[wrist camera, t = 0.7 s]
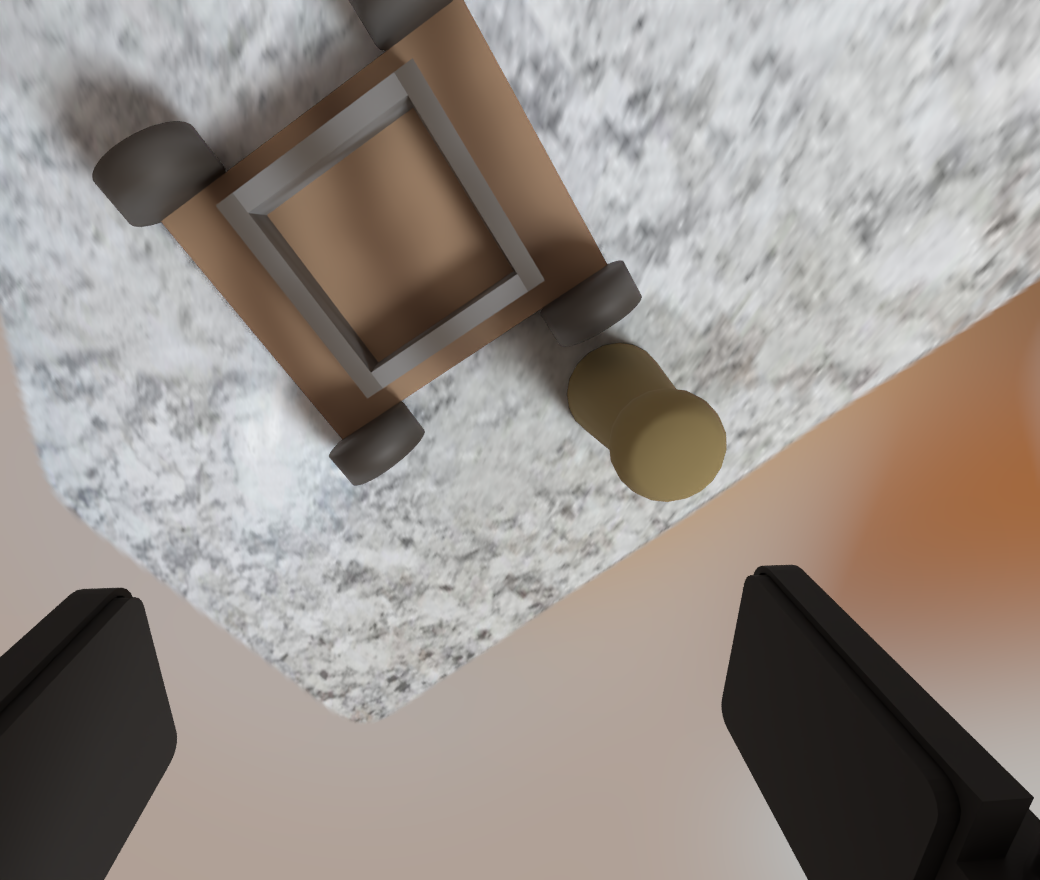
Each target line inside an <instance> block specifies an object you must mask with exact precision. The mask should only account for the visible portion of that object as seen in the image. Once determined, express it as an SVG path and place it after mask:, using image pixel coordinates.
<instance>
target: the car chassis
mask: <svg viewBox="0 0 1040 880" xmlns="http://www.w3.org/2000/svg"><path fill="white" fill-rule="evenodd" d="M349 2H350V3H351V5H352V6H353V8H354V10H355V11H356V13H357V15H358V16H359V18H360V20H361V21H362V23H363V24H364V26H365V28H366V29H367V31H368V33H369V34H370V36H371V37H372V39H373V41H374V42H375V44H376V46H377V47H378V48H379V49H380V50H387V51H386V52H385V53H383V54H382V55H381V56H379V57H378V58H377V59H375V60H374V61H373V62H371V63H370V64H369V65H367V66H366V67H365V68H363V69H362V70H361V71H359V72H358V73H357V74H355V75H354V76H353V77H351V78H350V79H349V80H348V81H346V82H345V83H344V84H342V85H341V86H340V87H338V88H337V89H336V90H334V91H333V92H332V93H330V94H329V95H328V96H326V97H325V98H324V99H322V100H321V101H320V102H318V103H317V104H316V105H314V106H313V107H312V108H310V109H309V110H308V111H306V112H305V113H304V114H303V115H301V116H300V117H299V118H297V119H296V120H295V121H293V122H292V123H291V124H289V125H288V126H287V127H285V128H284V129H283V130H281V131H280V132H279V133H277V134H276V135H275V136H273V137H272V138H271V139H269V140H268V141H267V142H265V143H264V144H263V145H261V146H260V147H259V148H258V149H256V150H255V151H254V152H252V153H251V154H250V155H248V156H247V157H246V158H244V159H243V160H242V161H240V162H239V163H238V164H236V165H235V166H234V167H232V168H231V169H230V170H228V171H227V172H226V170H225V168H224V166H223V165H222V164H221V162H220V161H219V160H218V159H217V157H216V156H215V155H214V153H213V152H212V151H211V149H210V148H209V147H208V145H207V144H206V143H205V141H204V140H203V139H202V138H201V136H200V135H199V134H198V132H197V131H196V130H195V128H194V127H193V126H192V125H191V124H189V123H186V122H180V121H174V122H166V123H161V124H158V125H154V126H151V127H149V128H146V129H144V130H141V131H139V132H137V133H135V134H133V135H131V136H129V137H128V138H126V139H124V140H123V141H121V142H120V143H118V144H117V145H115V146H114V147H113V148H112V149H110V150H109V151H108V152H107V153H106V154H105V155H104V156H103V157H102V158H101V159H100V160H99V162H98V163H97V165H96V166H95V168H94V170H93V174H92V178H93V181H94V182H95V184H96V185H97V186H98V187H99V188H100V190H101V191H102V192H103V193H104V194H105V195H106V197H107V198H108V199H109V200H110V201H111V202H112V204H113V205H114V206H115V207H116V208H117V210H118V211H119V212H120V213H121V214H122V215H123V217H124V218H125V219H126V220H127V221H128V222H129V224H131V225H132V226H136V227H144V226H150V225H154V224H157V223H160V222H162V223H163V225H164V226H165V227H166V228H167V229H168V231H169V232H170V233H171V234H172V235H173V237H174V238H175V239H176V240H177V241H178V243H179V244H180V245H181V246H182V247H183V249H184V250H185V251H186V252H187V253H188V255H189V256H190V257H191V258H192V259H193V261H194V262H195V263H196V264H197V265H198V267H199V268H200V269H201V270H202V271H203V273H204V274H205V275H206V276H207V277H208V279H209V280H210V281H211V282H212V283H213V285H214V286H215V287H216V288H217V289H218V291H219V292H220V293H221V294H222V295H223V297H224V298H225V299H226V300H227V301H228V303H229V304H230V305H231V306H232V307H233V309H234V310H235V311H236V312H237V313H238V315H239V316H240V317H241V318H242V319H243V321H244V322H245V323H246V324H247V325H248V327H249V328H250V329H251V330H252V331H253V333H254V334H255V335H256V336H257V337H258V339H259V340H260V341H261V342H262V343H263V345H264V346H265V347H266V348H267V349H268V351H269V352H270V353H271V354H272V355H273V357H274V358H275V359H276V360H277V361H278V363H279V364H280V365H281V366H282V367H283V369H284V370H285V371H286V372H287V373H288V375H289V376H290V377H291V378H292V379H293V381H294V382H295V383H296V384H297V385H298V387H299V388H300V389H301V390H302V391H303V393H304V394H305V395H306V396H307V397H308V399H309V400H310V401H311V402H312V403H313V405H314V406H315V407H316V408H317V409H318V411H319V412H320V413H321V414H322V415H323V417H324V418H325V419H326V420H327V421H328V423H329V424H330V425H331V426H332V427H333V429H334V430H335V431H336V432H337V433H338V435H339V436H340V437H341V438H342V440H341V441H340V442H339V443H338V444H337V445H336V446H335V447H334V448H333V450H332V451H331V452H330V454H329V457H330V458H331V460H332V461H333V462H334V463H335V464H336V466H337V467H338V468H339V469H340V470H341V471H342V473H343V474H344V475H345V476H346V477H347V478H348V480H349V481H350V482H351V483H352V484H353V485H355V486H357V485H361V484H364V483H367V482H369V481H371V480H373V479H374V478H376V477H378V476H379V475H381V474H383V473H384V472H386V471H387V470H389V469H390V468H391V467H393V466H394V465H395V464H397V463H398V462H399V461H400V460H402V459H403V458H404V457H405V456H406V455H407V454H408V453H409V452H410V451H411V450H412V449H413V448H414V447H415V446H416V445H417V444H418V443H419V442H420V440H421V439H422V437H423V435H424V433H425V431H424V429H423V428H422V426H421V425H420V424H419V422H418V421H417V420H416V419H415V417H414V416H413V415H412V413H411V412H410V411H409V409H408V408H407V407H406V405H405V404H404V403H403V402H400V401H402V400H403V399H405V398H406V397H408V396H410V395H411V394H413V393H414V392H416V391H417V390H419V389H420V388H422V387H423V386H425V385H426V384H428V383H429V382H431V381H432V380H434V379H435V378H437V377H438V376H440V375H441V374H443V373H444V372H446V371H447V370H449V369H450V368H452V367H453V366H455V365H457V364H458V363H460V362H461V361H463V360H464V359H466V358H467V357H469V356H470V355H472V354H473V353H475V352H476V351H478V350H479V349H481V348H482V347H484V346H485V345H487V344H488V343H490V342H491V341H493V340H494V339H496V338H497V337H499V336H500V335H502V334H503V333H505V332H507V331H508V330H510V329H511V328H513V327H514V326H516V325H517V324H519V323H520V322H522V321H523V320H525V319H526V318H528V317H529V316H531V315H532V314H534V313H535V312H537V311H538V310H540V309H541V308H542V310H541V312H540V313H541V315H542V317H543V318H544V320H545V322H546V323H547V325H548V327H549V328H550V330H551V331H552V333H553V335H554V336H555V338H556V340H557V341H558V343H559V345H560V346H563V347H566V346H571V345H575V344H578V343H581V342H583V341H585V340H588V339H590V338H592V337H594V336H596V335H597V334H599V333H601V332H603V331H605V330H606V329H608V328H609V327H611V326H612V325H614V324H615V323H617V322H618V321H620V320H621V319H622V318H624V317H625V316H626V315H627V314H629V313H630V312H631V311H632V310H633V309H634V308H635V307H636V306H637V305H638V303H639V302H640V300H641V298H642V296H641V294H640V292H639V290H638V288H637V286H636V284H635V283H634V281H633V279H632V277H631V275H630V273H629V271H628V269H627V267H626V266H625V264H624V262H623V261H615V262H612V263H610V264H607V263H606V261H605V259H604V257H603V256H602V254H601V252H600V250H599V248H598V246H597V245H596V243H595V241H594V239H593V237H592V235H591V234H590V232H589V230H588V228H587V226H586V224H585V222H584V221H583V219H582V217H581V215H580V213H579V211H578V210H577V208H576V206H575V204H574V202H573V200H572V199H571V197H570V195H569V193H568V191H567V189H566V188H565V186H564V184H563V182H562V180H561V178H560V177H559V175H558V173H557V171H556V169H555V167H554V166H553V164H552V162H551V160H550V158H549V156H548V155H547V153H546V151H545V149H544V147H543V145H542V143H541V142H540V140H539V138H538V136H537V134H536V132H535V131H534V129H533V127H532V125H531V123H530V121H529V120H528V118H527V116H526V114H525V112H524V110H523V109H522V107H521V105H520V103H519V101H518V99H517V98H516V96H515V94H514V92H513V90H512V88H511V87H510V85H509V83H508V81H507V79H506V77H505V76H504V74H503V72H502V70H501V68H500V66H499V64H498V63H497V61H496V59H495V57H494V55H493V53H492V52H491V50H490V48H489V46H488V44H487V42H486V41H485V39H484V37H483V35H482V33H481V31H480V30H479V28H478V26H477V24H476V22H475V20H474V19H473V17H472V15H471V13H470V11H469V9H468V8H467V6H466V4H465V2H464V0H349Z"/></svg>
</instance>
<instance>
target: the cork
mask: <svg viewBox="0 0 1040 880" xmlns="http://www.w3.org/2000/svg"><path fill="white" fill-rule="evenodd" d="M567 397H568V404H569V409H570V411H571V413H572V415H573V417H574V419H575V421H576V422H578V423H579V424H580V425H581V426H582V427H583V428H584V429H585V430H586V431H587V432H588V433H590V434H591V435H592V436H593V437H594V438H596V439H597V440H598V441H599V442H601V443H602V444H603V445H604V446H605V447H607V448H608V449H609V450H610V457H611V462H612V464H613V466H614V468H615V470H616V472H617V474H618V476H619V478H620V479H621V481H622V482H623V483H624V484H626V485H627V486H628V487H629V488H630V489H631V490H632V491H633V492H635V493H637V494H639V495H641V496H643V497H646V498H648V499H650V500H655V501H665V502H670V501H675V500H680V499H685V498H688V497H690V496H692V495H694V494H696V493H698V492H700V491H702V490H703V489H704V488H705V487H706V486H707V485H708V484H710V483H711V482H712V481H713V479H714V478H715V476H716V475H717V473H718V472H719V470H720V469H721V466H722V463H723V460H724V456H725V453H726V432H725V430H724V427H723V425H722V422H721V420H720V418H719V416H718V414H717V413H716V411H715V410H714V409H713V408H712V407H711V406H710V405H709V404H708V403H707V402H706V401H705V400H703V399H702V398H700V397H698V396H696V395H694V394H692V393H690V392H688V391H685V390H677V389H676V388H675V387H674V385H673V384H672V383H671V381H670V380H669V378H668V377H667V376H666V374H665V373H664V372H663V370H662V369H661V368H660V366H659V365H658V364H657V362H656V361H655V360H654V359H653V358H652V357H651V356H650V355H649V354H648V353H647V352H646V351H644V350H642V349H640V348H638V347H637V346H635V345H630V344H623V343H615V344H609V345H604V346H601V347H599V348H597V349H596V350H594V351H592V352H590V353H588V354H587V355H586V356H585V357H584V358H583V359H582V360H581V361H580V362H579V363H578V364H577V366H576V368H575V370H574V371H573V373H572V375H571V377H570V380H569V385H568V391H567Z"/></svg>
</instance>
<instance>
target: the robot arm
mask: <svg viewBox="0 0 1040 880" xmlns="http://www.w3.org/2000/svg"><path fill="white" fill-rule="evenodd" d="M722 713H723V718H724V722H725V724H726V726H727V729H728V731H729V732H730V734H731V736H732V738H733V740H734V742H735V744H736V746H737V747H738V749H739V751H740V753H741V755H742V757H743V759H744V761H745V762H746V764H747V766H748V768H749V770H750V772H751V774H752V776H753V777H754V779H755V781H756V783H757V785H758V787H759V788H760V790H761V792H762V794H763V796H764V798H765V800H766V802H767V804H768V805H769V807H770V809H771V811H772V813H773V815H774V817H775V818H776V821H777V822H778V824H779V826H780V828H781V830H782V832H783V834H784V836H785V837H786V839H787V841H788V843H789V845H790V847H791V849H792V851H793V852H794V854H795V856H796V858H797V860H798V862H799V864H800V866H801V867H802V869H803V871H804V873H805V875H806V877H807V879H808V880H1040V820H1039V819H1038V818H1037V817H1036V816H1035V815H1034V813H1033V812H1031V811H1030V810H1029V807H1030V805H1031V803H1032V801H1033V799H1034V797H1033V796H1032V795H1031V794H1030V793H1029V792H1028V791H1027V790H1026V789H1025V788H1024V787H1023V786H1022V785H1021V784H1020V783H1019V782H1018V781H1017V780H1016V779H1014V778H1013V776H1012V775H1011V774H1010V773H1008V771H1006V770H1005V769H1004V768H1003V767H1002V766H1001V765H1000V764H999V763H998V762H997V761H996V760H995V759H994V758H993V757H992V756H991V755H990V754H989V753H988V752H987V751H986V750H985V749H984V748H983V747H982V746H981V745H980V744H979V743H978V742H977V741H976V740H975V739H974V738H973V737H972V736H971V735H970V734H969V733H968V732H967V731H966V730H965V729H964V728H963V727H962V726H961V725H960V724H959V723H958V722H957V721H956V720H955V719H954V718H953V717H952V716H951V715H950V714H949V713H948V712H947V711H946V710H944V709H943V708H942V707H941V706H940V705H939V704H938V703H937V702H936V701H935V700H934V699H933V698H932V697H931V696H930V695H929V694H928V693H927V692H926V691H925V690H924V689H923V688H922V687H921V686H920V685H919V684H918V683H917V682H916V681H915V680H914V679H913V678H912V677H911V676H910V675H909V674H908V673H907V672H906V671H905V670H904V669H903V668H902V667H901V666H900V665H899V664H898V663H897V662H896V661H895V660H894V659H893V658H892V657H891V656H889V654H887V652H886V651H885V650H883V649H882V647H880V646H879V645H878V644H877V643H876V642H875V641H874V640H873V639H872V638H871V637H870V636H869V635H868V634H867V633H866V632H865V631H864V630H863V629H862V628H861V627H860V626H859V625H858V624H857V623H856V622H855V621H854V620H853V619H852V618H851V617H850V616H849V615H848V614H847V613H846V612H845V611H844V610H843V609H842V608H841V607H840V606H839V605H838V604H837V603H836V602H835V601H834V600H833V599H832V598H831V597H830V596H829V595H827V594H826V592H825V591H823V589H822V588H820V586H818V585H817V584H816V583H815V582H814V581H813V580H812V579H811V578H810V577H809V576H808V575H807V574H806V573H805V572H804V571H803V570H802V569H801V568H799V567H798V566H796V565H774V566H773V565H772V566H760V567H758V568H757V569H756V570H755V572H754V575H750V576H748V577H747V578H746V580H745V583H744V587H743V593H742V598H741V603H740V608H739V613H738V619H737V624H736V629H735V635H734V640H733V645H732V650H731V655H730V660H729V665H728V671H727V676H726V681H725V686H724V692H723V697H722ZM176 744H177V733H176V729H175V725H174V721H173V717H172V713H171V709H170V705H169V701H168V697H167V694H166V690H165V686H164V682H163V679H162V674H161V671H160V667H159V663H158V659H157V655H156V651H155V647H154V643H153V640H152V635H151V632H150V628H149V624H148V620H147V616H146V612H145V608H144V605H143V603H142V601H141V600H140V599H139V598H136V597H132V595H131V593H130V592H129V591H128V590H127V589H124V588H100V589H81V590H77V591H75V592H73V593H72V594H70V595H69V596H68V597H67V598H66V599H65V600H64V601H63V602H61V603H60V604H59V605H58V606H57V607H56V608H55V609H54V610H52V611H51V612H50V613H49V614H48V615H47V616H46V617H45V618H43V619H42V620H41V621H40V622H39V623H38V624H37V625H36V626H35V627H33V628H32V629H31V630H30V631H29V632H28V633H27V634H26V635H25V636H23V637H22V639H20V640H19V641H18V642H17V643H16V644H14V645H13V646H12V647H11V648H10V649H9V650H8V651H7V652H6V653H5V654H3V655H2V656H1V657H0V880H104V879H105V877H106V875H107V874H108V872H109V870H110V868H111V867H112V865H113V863H114V861H115V860H116V858H117V856H118V854H119V852H120V851H121V848H122V847H123V845H124V843H125V842H126V840H127V838H128V837H129V835H130V833H131V831H132V830H133V828H134V826H135V824H136V822H137V821H138V819H139V817H140V815H141V814H142V812H143V810H144V808H145V807H146V805H147V803H148V801H149V800H150V798H151V796H152V794H153V792H154V791H155V789H156V787H157V785H158V784H159V782H160V780H161V778H162V777H163V775H164V773H165V771H166V770H167V768H168V766H169V764H170V762H171V760H172V758H173V756H174V753H175V749H176Z"/></svg>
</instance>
